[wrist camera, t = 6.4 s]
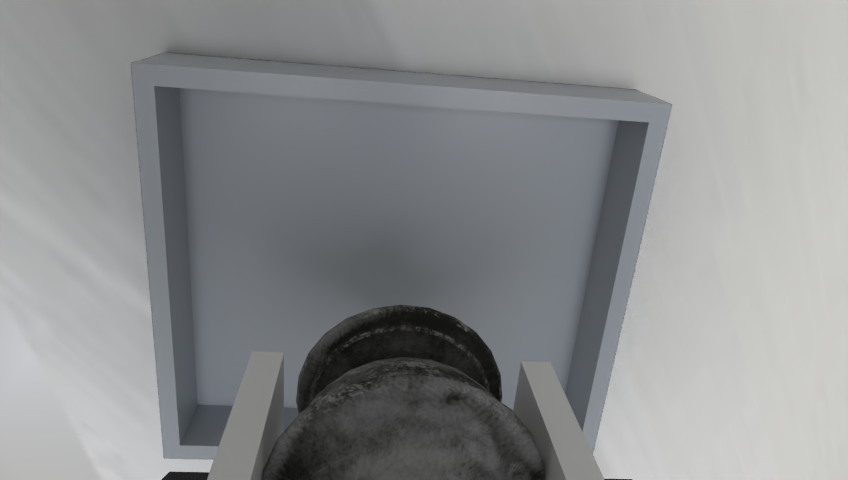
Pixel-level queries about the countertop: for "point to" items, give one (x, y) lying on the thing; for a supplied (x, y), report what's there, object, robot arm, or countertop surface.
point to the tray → (382, 219)
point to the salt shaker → (403, 406)
